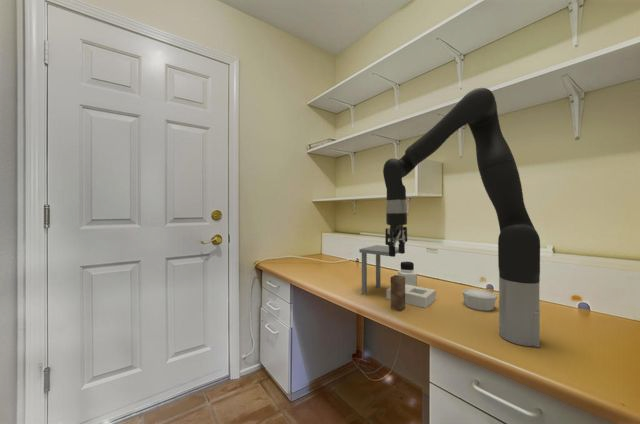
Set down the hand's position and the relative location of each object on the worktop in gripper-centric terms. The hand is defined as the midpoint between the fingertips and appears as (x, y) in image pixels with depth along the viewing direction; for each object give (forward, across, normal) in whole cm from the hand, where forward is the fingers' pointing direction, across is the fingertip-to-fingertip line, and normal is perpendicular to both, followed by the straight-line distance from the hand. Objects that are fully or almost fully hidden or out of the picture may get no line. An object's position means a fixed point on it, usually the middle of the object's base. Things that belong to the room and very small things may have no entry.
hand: (397, 254), depth 96 cm
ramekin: (+21, +22, -23) cm, 38 cm away
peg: (+20, 0, 0) cm, 20 cm away
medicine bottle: (+20, +29, +8) cm, 36 cm away
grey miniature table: (+20, +13, +13) cm, 27 cm away
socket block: (+20, +13, 0) cm, 24 cm away
